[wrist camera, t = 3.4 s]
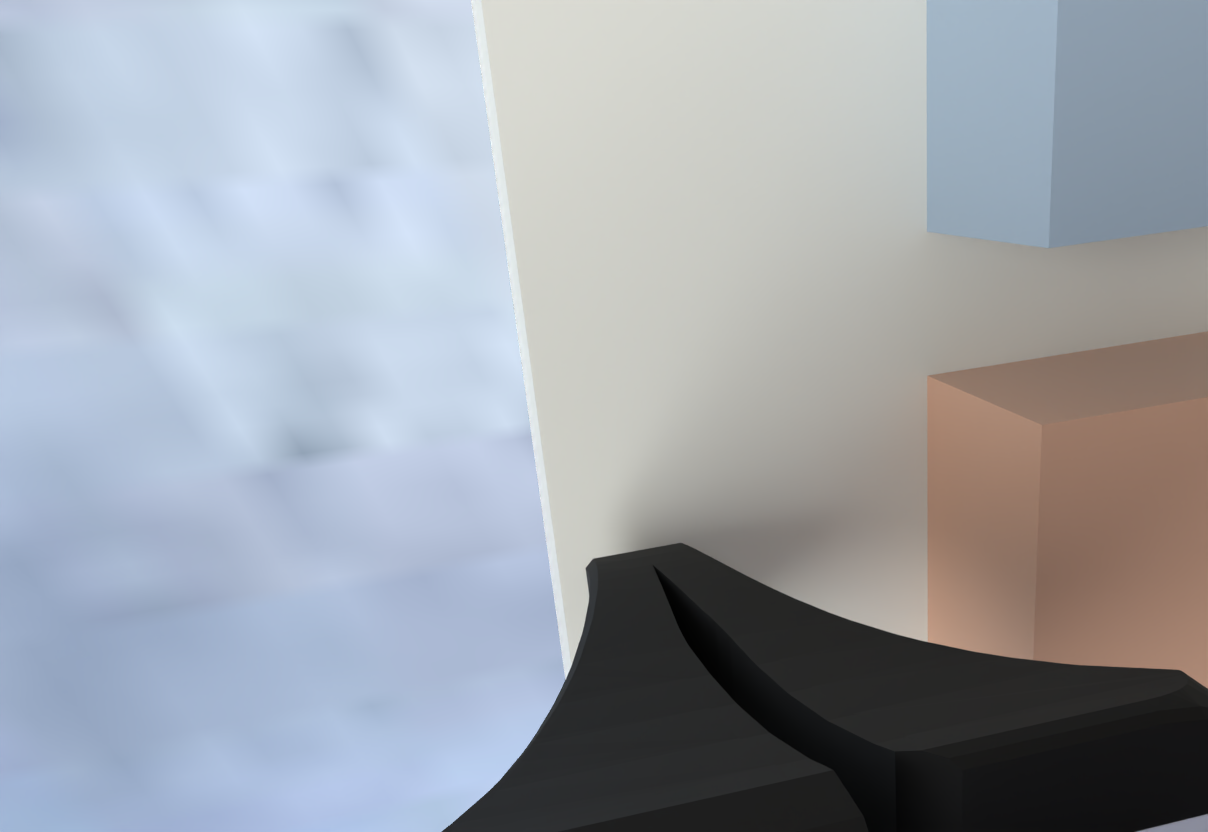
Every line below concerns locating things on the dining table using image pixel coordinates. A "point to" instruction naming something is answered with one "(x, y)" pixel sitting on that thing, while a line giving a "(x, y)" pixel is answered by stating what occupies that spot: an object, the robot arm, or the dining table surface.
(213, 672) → the dining table surface
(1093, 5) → the tile slate
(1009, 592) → the tile terracotta
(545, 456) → the board
